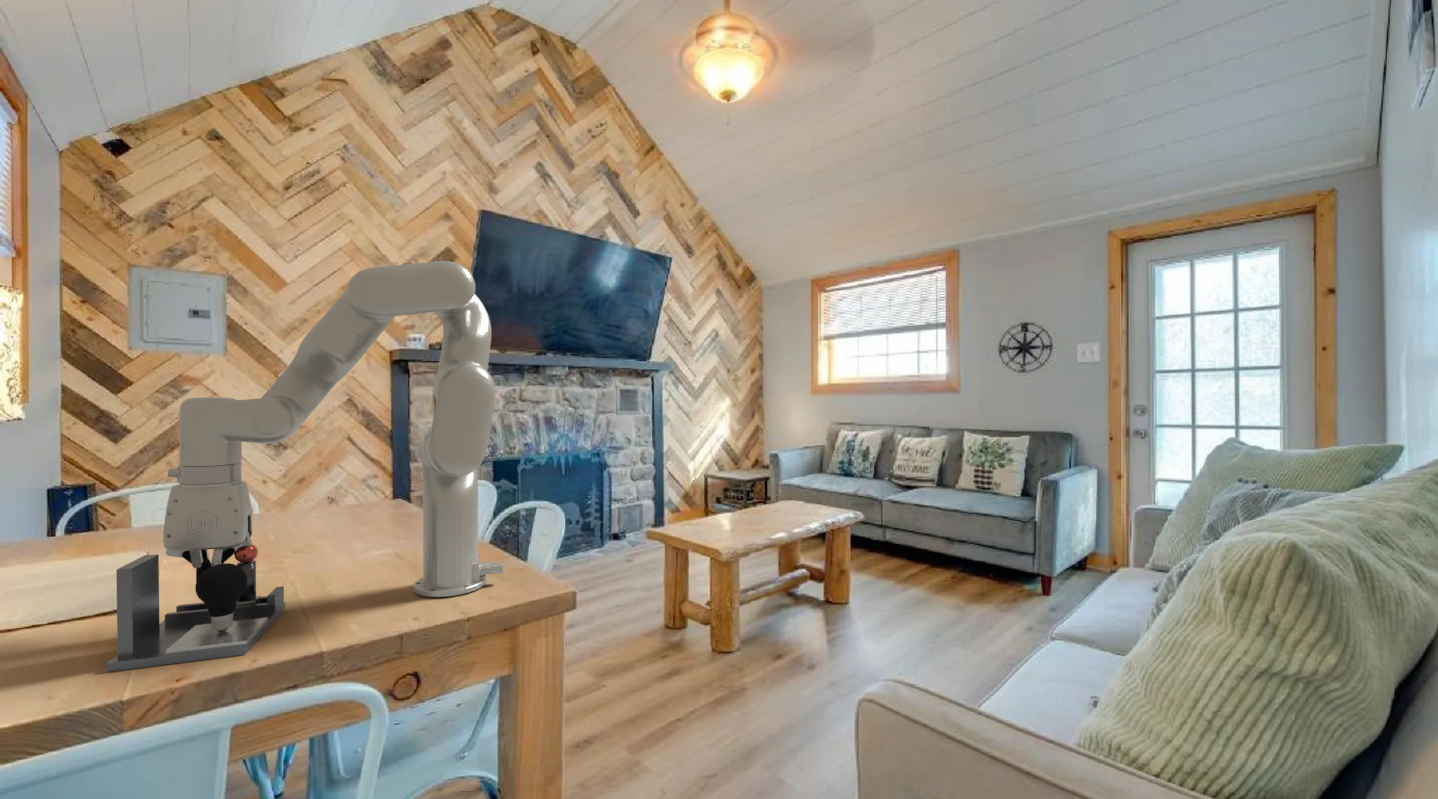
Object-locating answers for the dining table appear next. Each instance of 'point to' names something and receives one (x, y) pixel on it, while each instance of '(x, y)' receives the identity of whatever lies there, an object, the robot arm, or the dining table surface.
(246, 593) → the lever
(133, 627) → the press
